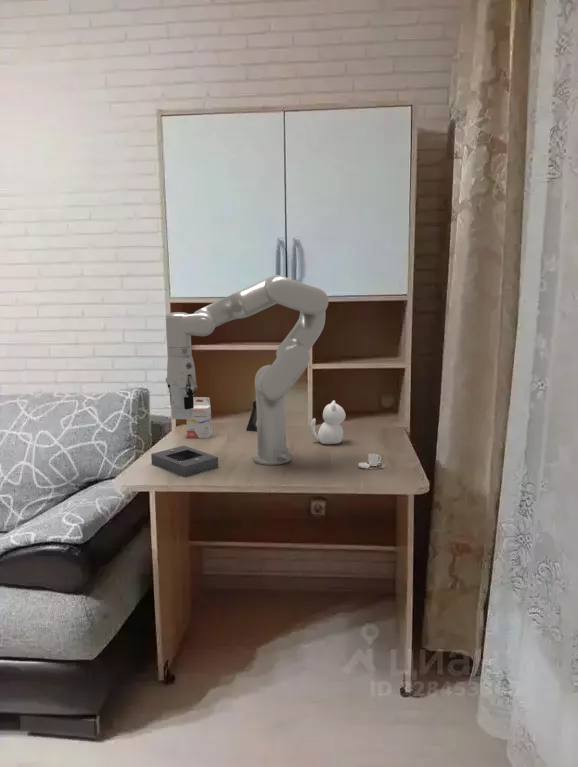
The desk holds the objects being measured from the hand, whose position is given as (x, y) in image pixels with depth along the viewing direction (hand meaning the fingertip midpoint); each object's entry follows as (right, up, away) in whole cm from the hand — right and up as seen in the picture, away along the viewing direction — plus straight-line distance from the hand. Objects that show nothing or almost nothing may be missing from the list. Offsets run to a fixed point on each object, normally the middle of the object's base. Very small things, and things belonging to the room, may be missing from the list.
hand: (182, 406), depth 218 cm
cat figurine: (+48, -14, +26) cm, 57 cm away
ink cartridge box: (+1, -13, +38) cm, 40 cm away
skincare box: (0, -4, +1) cm, 4 cm away
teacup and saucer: (+59, -19, +1) cm, 62 cm away
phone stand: (+23, -11, +46) cm, 52 cm away
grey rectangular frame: (0, -20, +4) cm, 20 cm away
